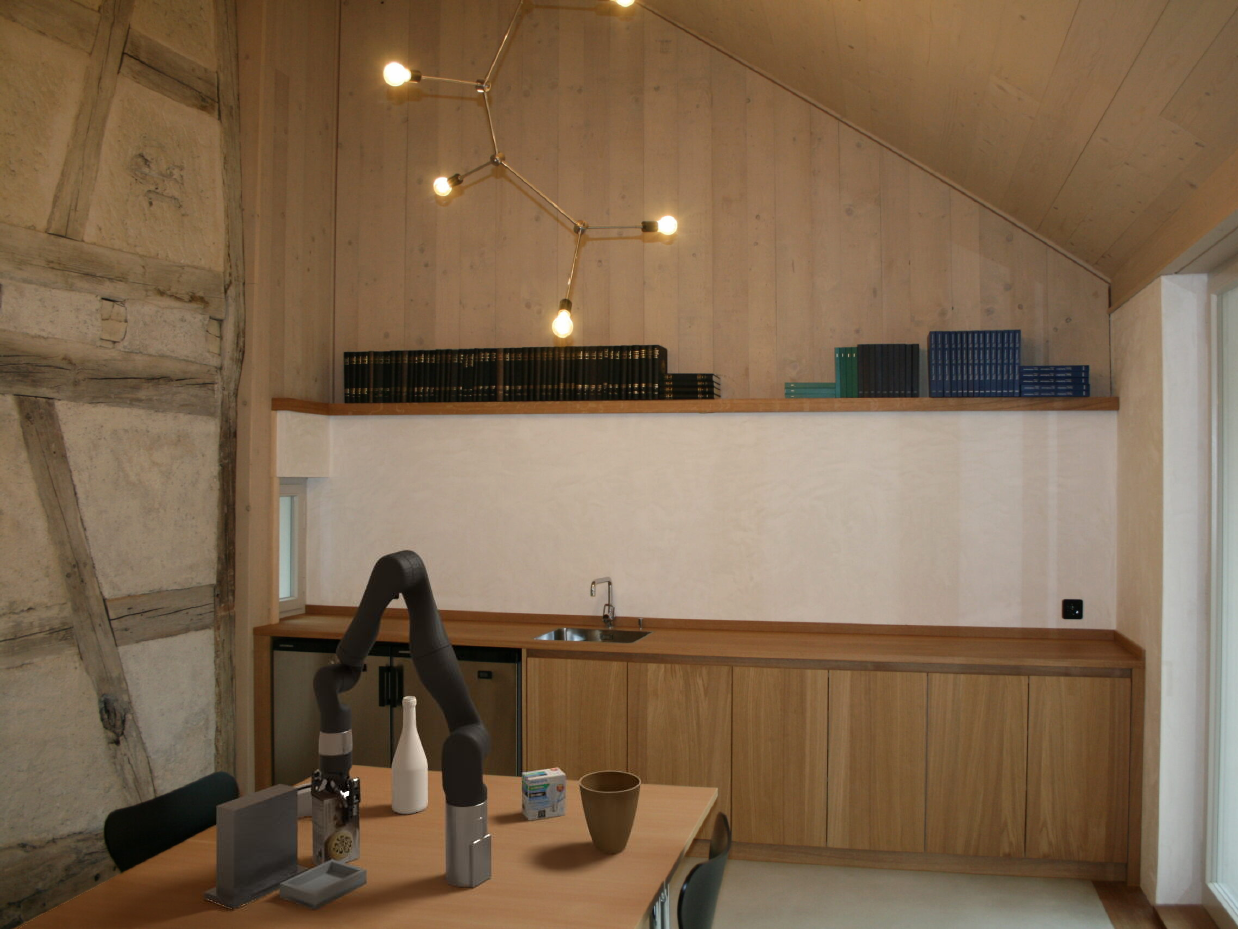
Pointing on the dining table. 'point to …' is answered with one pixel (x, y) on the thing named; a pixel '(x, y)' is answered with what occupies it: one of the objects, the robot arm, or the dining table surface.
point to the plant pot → (610, 807)
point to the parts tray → (323, 884)
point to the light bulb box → (543, 793)
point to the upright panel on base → (256, 845)
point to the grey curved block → (304, 800)
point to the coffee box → (333, 829)
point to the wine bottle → (409, 766)
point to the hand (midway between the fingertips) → (335, 818)
